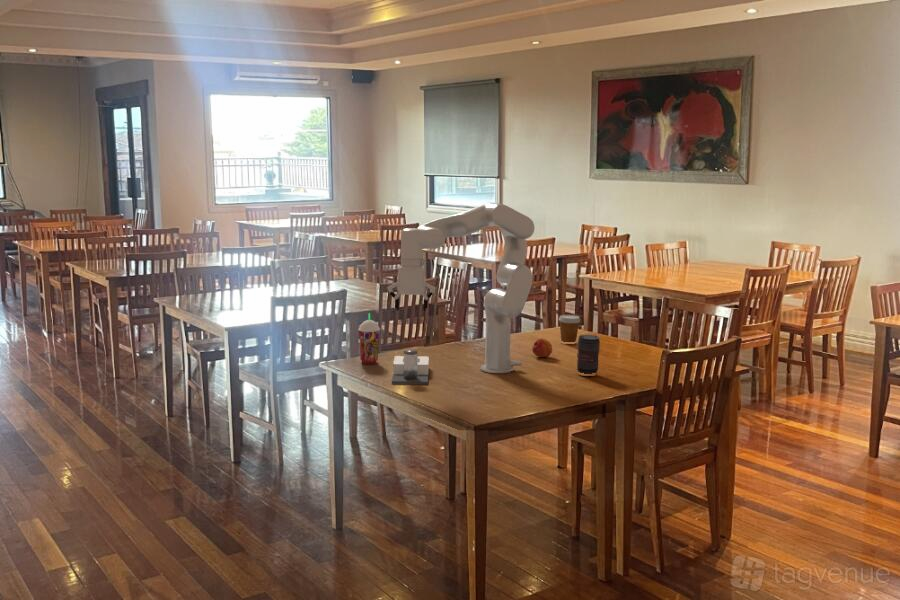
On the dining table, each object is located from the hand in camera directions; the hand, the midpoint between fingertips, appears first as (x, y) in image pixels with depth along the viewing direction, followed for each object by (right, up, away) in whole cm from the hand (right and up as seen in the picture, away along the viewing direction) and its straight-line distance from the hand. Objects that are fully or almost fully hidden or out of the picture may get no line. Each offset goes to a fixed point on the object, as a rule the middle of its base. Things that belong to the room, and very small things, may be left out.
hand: (411, 310), depth 316 cm
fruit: (+52, -20, +45) cm, 71 cm away
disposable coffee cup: (+67, -16, +72) cm, 100 cm away
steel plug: (0, -25, +4) cm, 25 cm away
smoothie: (-18, -21, +30) cm, 41 cm away
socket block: (-1, -24, +17) cm, 29 cm away
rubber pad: (-1, -26, +4) cm, 26 cm away
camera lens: (+66, -25, +17) cm, 73 cm away
